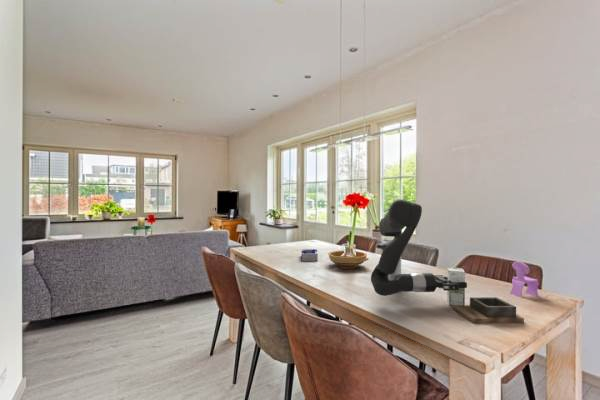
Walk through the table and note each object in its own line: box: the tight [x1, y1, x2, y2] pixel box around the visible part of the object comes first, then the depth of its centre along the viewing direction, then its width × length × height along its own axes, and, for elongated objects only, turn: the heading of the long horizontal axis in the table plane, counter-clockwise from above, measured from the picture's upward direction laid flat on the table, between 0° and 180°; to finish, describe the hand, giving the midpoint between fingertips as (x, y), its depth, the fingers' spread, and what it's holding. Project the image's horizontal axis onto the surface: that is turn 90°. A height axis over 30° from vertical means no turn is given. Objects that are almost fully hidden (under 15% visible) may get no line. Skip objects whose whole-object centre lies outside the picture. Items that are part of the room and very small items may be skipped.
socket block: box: [452, 296, 525, 324], centre depth 112 cm, size 18×13×5 cm
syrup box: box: [446, 267, 466, 307], centre depth 124 cm, size 6×6×14 cm
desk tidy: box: [301, 248, 319, 262], centre depth 216 cm, size 10×18×5 cm, turn 1°
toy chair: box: [509, 260, 539, 298], centre depth 136 cm, size 8×9×15 cm
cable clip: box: [301, 248, 318, 254], centre depth 216 cm, size 12×4×6 cm, turn 131°
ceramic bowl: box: [327, 250, 369, 269], centre depth 192 cm, size 30×24×8 cm
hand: (460, 282), depth 124 cm, fingers closed on syrup box, 7 cm apart
